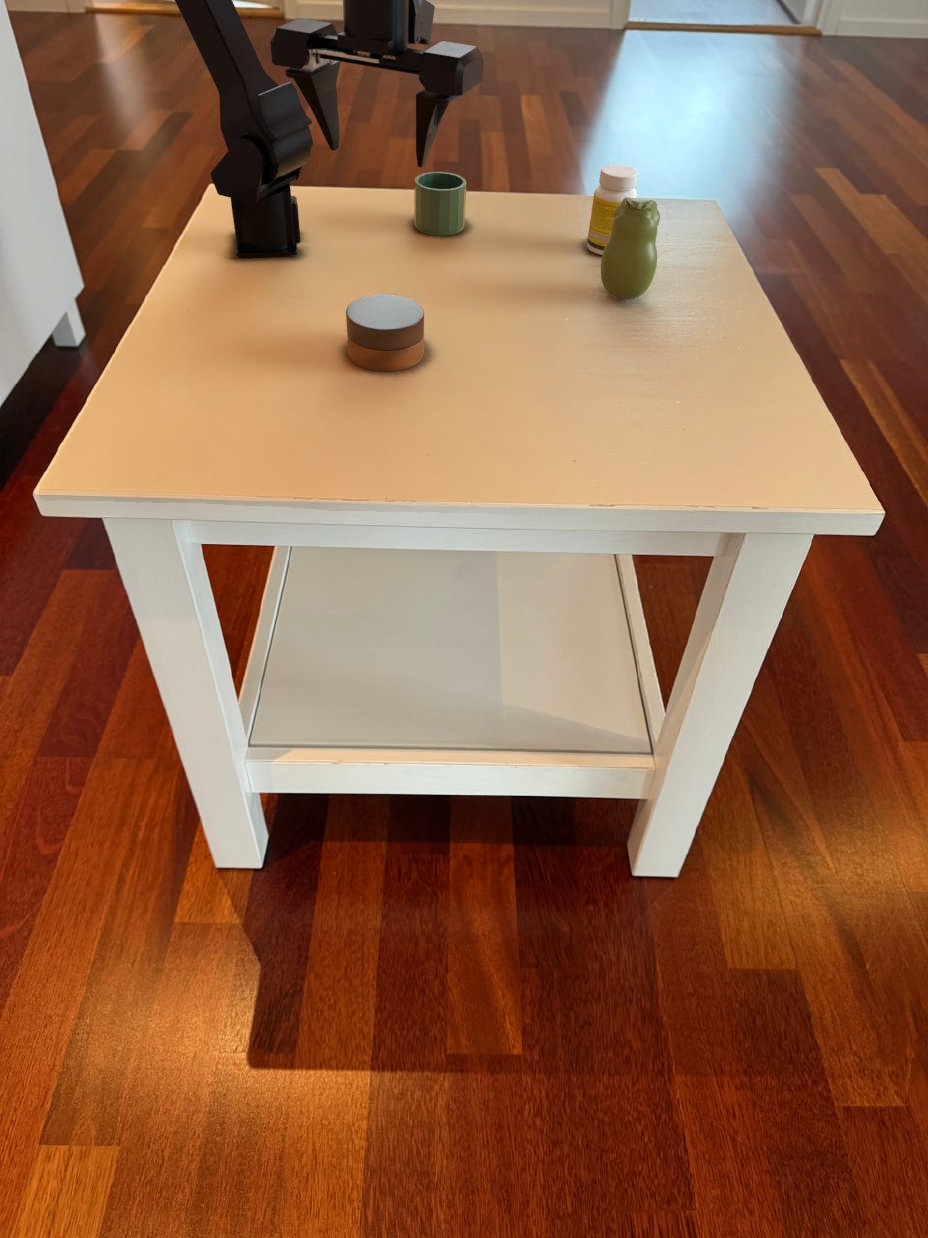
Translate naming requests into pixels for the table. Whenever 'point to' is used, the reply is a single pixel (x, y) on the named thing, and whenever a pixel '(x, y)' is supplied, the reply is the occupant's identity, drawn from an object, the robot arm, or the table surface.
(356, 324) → the walnut chip
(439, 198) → the plastic cup
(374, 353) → the teak chip
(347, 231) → the table surface
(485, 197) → the table surface
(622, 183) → the supplement bottle
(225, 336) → the table surface
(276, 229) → the robot arm
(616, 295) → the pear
